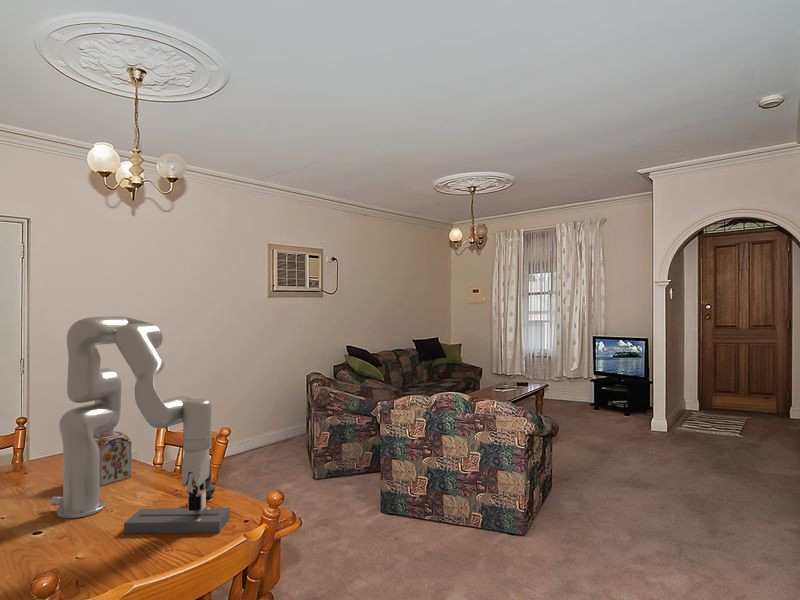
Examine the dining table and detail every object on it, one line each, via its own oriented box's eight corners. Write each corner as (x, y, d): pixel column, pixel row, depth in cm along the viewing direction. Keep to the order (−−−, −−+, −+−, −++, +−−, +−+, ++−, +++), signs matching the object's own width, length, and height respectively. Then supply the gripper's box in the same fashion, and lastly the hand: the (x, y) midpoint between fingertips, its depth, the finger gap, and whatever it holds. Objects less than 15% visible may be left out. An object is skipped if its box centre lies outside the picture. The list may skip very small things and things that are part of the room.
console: (124, 533, 144) (124, 522, 144) (140, 519, 154) (140, 508, 154) (219, 532, 145) (219, 520, 145) (230, 517, 155) (230, 506, 155)
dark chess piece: (209, 503, 166) (209, 465, 166) (192, 502, 167) (192, 464, 167) (219, 496, 172) (219, 460, 172) (202, 495, 173) (203, 459, 173)
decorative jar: (82, 481, 187) (82, 430, 187) (114, 472, 197) (114, 424, 197) (100, 487, 181) (100, 434, 181) (132, 477, 191) (133, 428, 191)
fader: (187, 515, 148) (188, 493, 148) (191, 511, 151) (191, 489, 151) (202, 515, 148) (202, 493, 148) (205, 511, 151) (205, 489, 151)
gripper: (194, 436, 158) (193, 497, 158) (172, 451, 142) (172, 519, 141) (219, 435, 158) (219, 497, 158) (200, 451, 142) (200, 519, 142)
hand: (197, 507), depth 150 cm, fingers closed on fader, 3 cm apart
